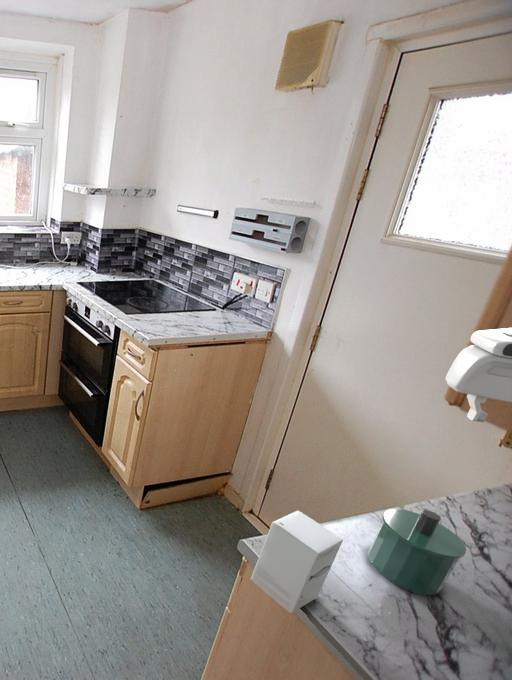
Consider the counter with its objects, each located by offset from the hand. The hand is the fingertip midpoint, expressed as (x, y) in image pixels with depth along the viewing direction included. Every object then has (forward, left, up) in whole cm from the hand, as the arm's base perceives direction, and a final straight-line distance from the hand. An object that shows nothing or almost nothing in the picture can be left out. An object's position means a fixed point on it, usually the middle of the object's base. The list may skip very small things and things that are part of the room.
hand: (510, 427), depth 74 cm
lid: (+7, +5, -21) cm, 22 cm away
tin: (+7, +5, -29) cm, 30 cm away
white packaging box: (+29, +19, -29) cm, 45 cm away
